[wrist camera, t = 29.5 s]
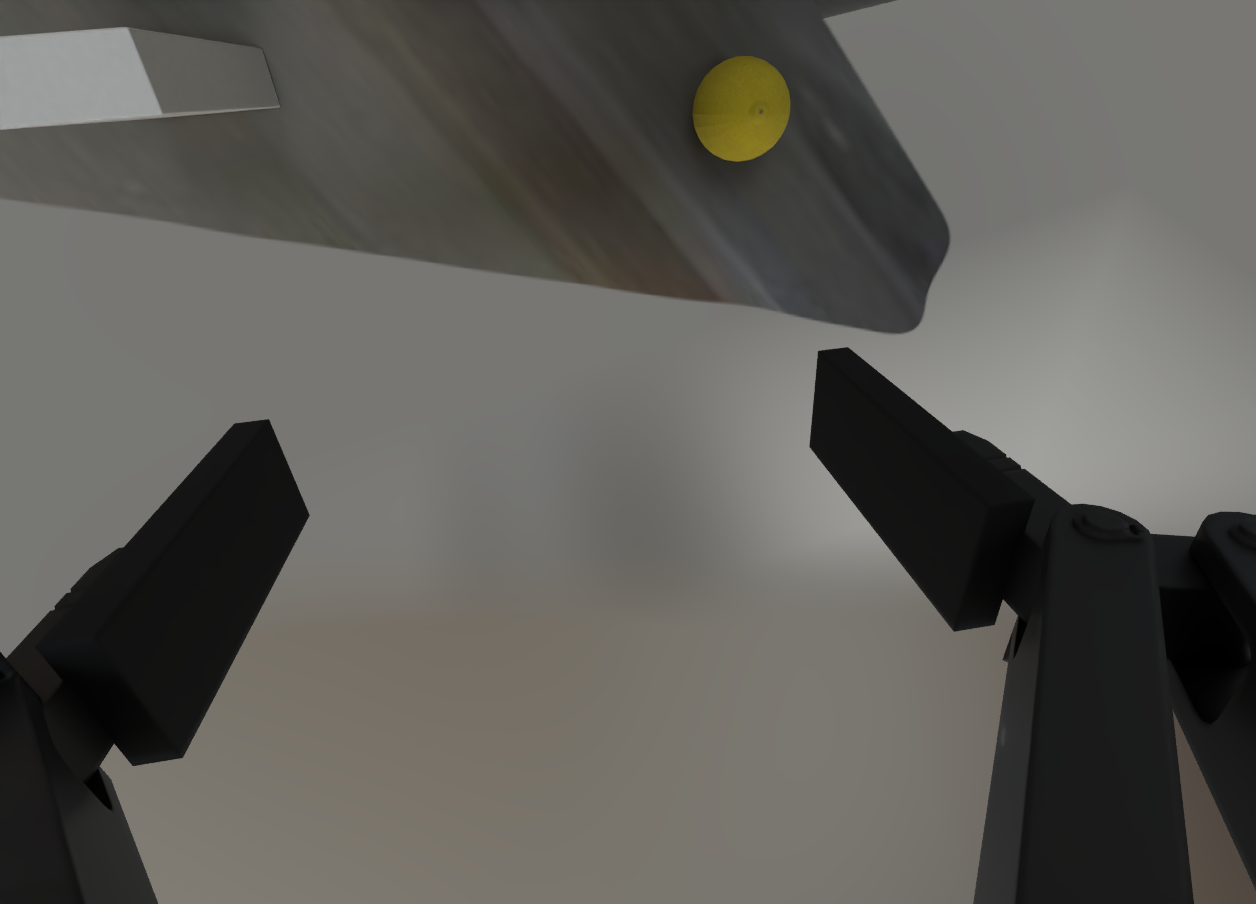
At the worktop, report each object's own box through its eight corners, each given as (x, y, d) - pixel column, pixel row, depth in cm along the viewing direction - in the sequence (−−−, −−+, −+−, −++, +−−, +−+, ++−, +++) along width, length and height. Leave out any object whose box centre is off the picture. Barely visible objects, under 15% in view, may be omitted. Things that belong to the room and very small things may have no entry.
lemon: (779, 102, 41) (830, 104, 34) (723, 173, 42) (759, 189, 36) (721, 37, 38) (762, 25, 32) (663, 115, 40) (691, 120, 33)
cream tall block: (281, 107, 37) (162, 115, 25) (159, 118, 37) (-21, 131, 25) (262, 47, 36) (126, 26, 24) (135, 58, 35) (-70, 41, 23)
